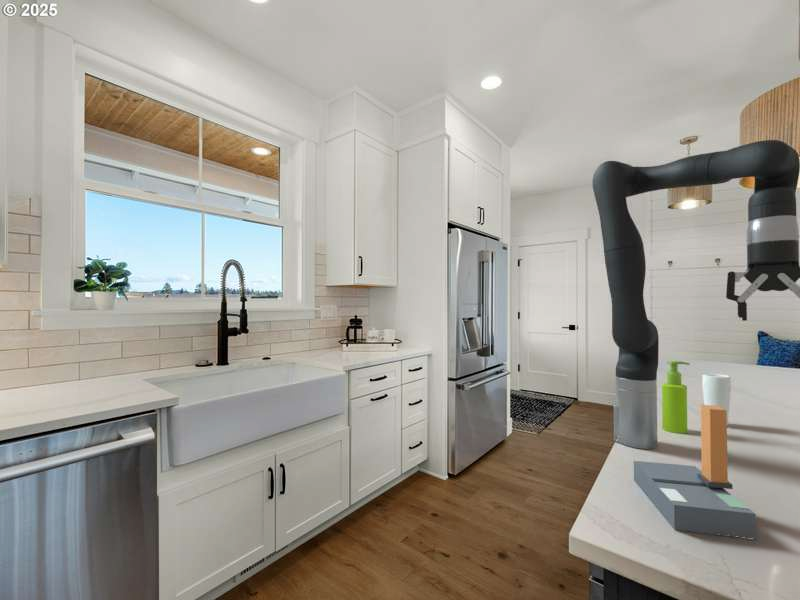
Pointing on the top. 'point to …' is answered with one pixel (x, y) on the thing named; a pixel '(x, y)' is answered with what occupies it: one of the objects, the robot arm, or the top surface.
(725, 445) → the handle
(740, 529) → the switch box
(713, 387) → the drinking glass
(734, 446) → the top surface
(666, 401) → the soap dispenser
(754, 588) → the top surface
